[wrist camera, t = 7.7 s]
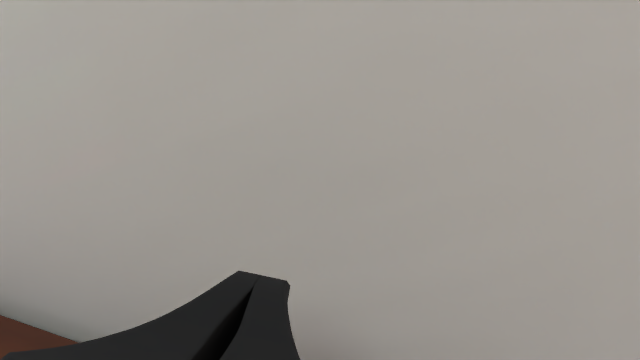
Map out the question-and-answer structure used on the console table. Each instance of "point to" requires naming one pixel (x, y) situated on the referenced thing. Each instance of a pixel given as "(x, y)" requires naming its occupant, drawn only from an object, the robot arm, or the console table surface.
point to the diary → (26, 337)
